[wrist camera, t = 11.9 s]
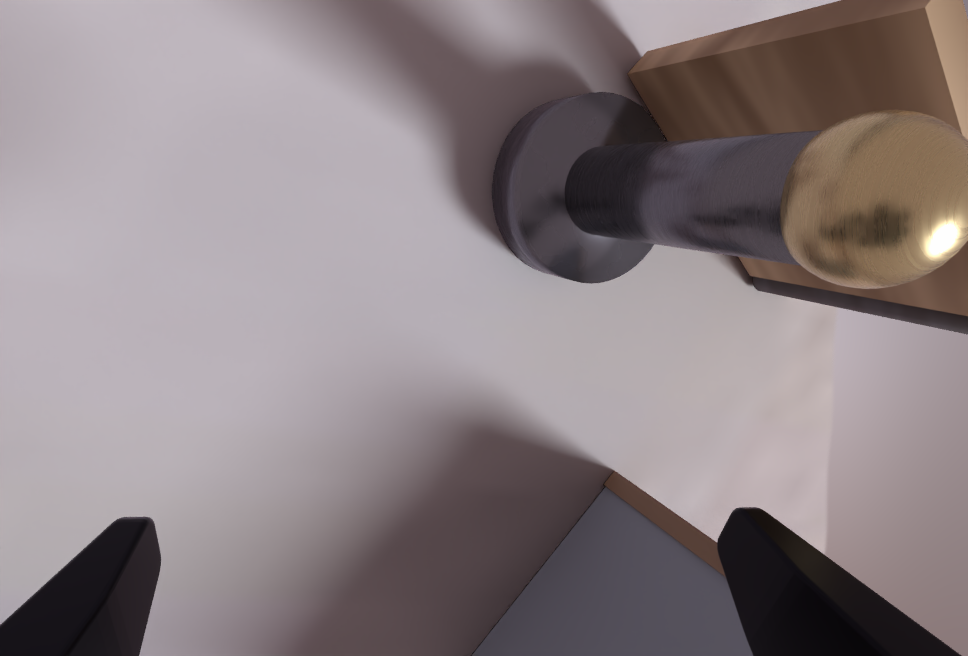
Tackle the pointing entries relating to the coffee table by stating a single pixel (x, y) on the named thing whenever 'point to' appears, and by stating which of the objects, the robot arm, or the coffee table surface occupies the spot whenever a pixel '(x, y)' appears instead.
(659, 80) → the door
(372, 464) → the coffee table surface
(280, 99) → the coffee table surface
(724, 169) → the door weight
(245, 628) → the coffee table surface
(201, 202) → the coffee table surface
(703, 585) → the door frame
